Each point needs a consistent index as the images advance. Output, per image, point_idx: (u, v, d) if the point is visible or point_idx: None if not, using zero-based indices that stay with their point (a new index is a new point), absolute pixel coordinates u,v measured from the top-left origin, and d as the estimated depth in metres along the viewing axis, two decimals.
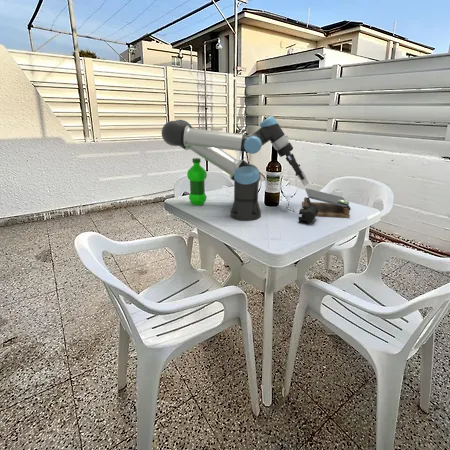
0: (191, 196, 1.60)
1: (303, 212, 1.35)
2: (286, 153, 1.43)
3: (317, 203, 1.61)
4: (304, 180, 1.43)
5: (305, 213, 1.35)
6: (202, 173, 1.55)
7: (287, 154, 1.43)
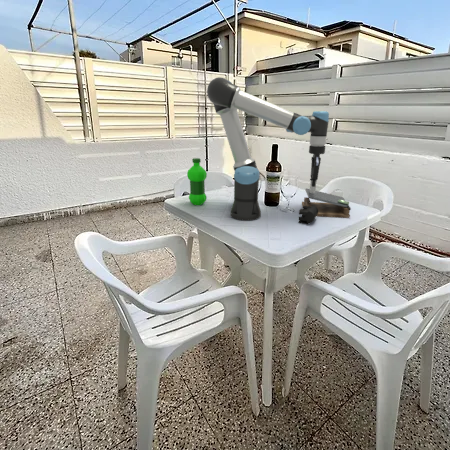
0: (191, 196, 1.60)
1: (303, 212, 1.35)
2: (317, 153, 1.41)
3: (317, 203, 1.61)
4: (313, 188, 1.50)
5: (305, 213, 1.35)
6: (202, 173, 1.55)
7: (317, 155, 1.41)
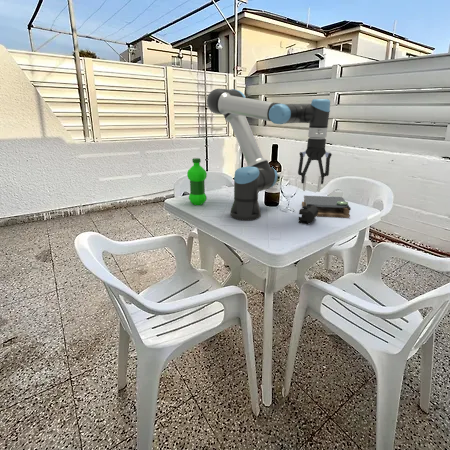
0: (191, 196, 1.60)
1: (303, 212, 1.35)
2: (307, 146, 1.28)
3: None
4: (303, 185, 1.34)
5: (305, 213, 1.35)
6: (202, 173, 1.55)
7: (307, 147, 1.29)
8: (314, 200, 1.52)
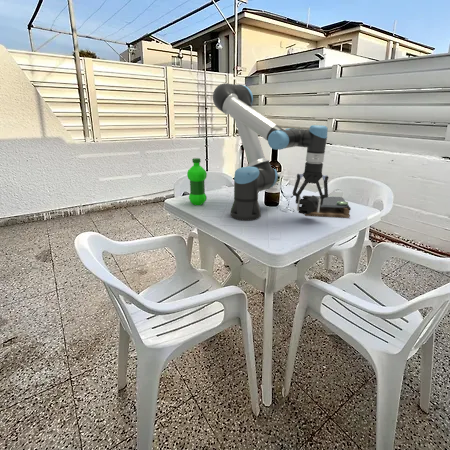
0: (191, 196, 1.60)
1: (303, 202, 1.34)
2: None
3: None
4: (297, 205, 1.38)
5: (305, 203, 1.33)
6: (202, 173, 1.55)
7: (304, 171, 1.32)
8: None
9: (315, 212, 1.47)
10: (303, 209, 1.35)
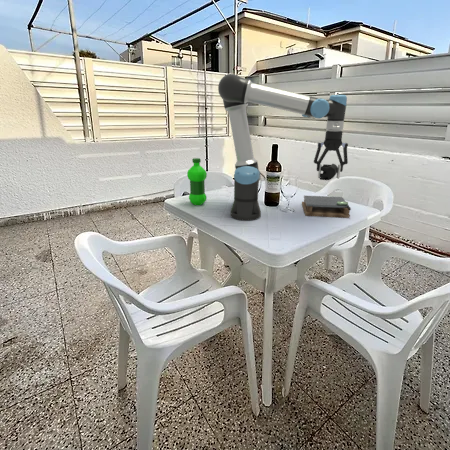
0: (191, 196, 1.60)
1: (324, 168, 1.43)
2: (325, 138, 1.41)
3: None
4: (318, 172, 1.47)
5: (326, 169, 1.42)
6: (202, 173, 1.55)
7: (325, 139, 1.42)
8: (314, 200, 1.52)
9: (315, 212, 1.47)
10: (324, 175, 1.44)
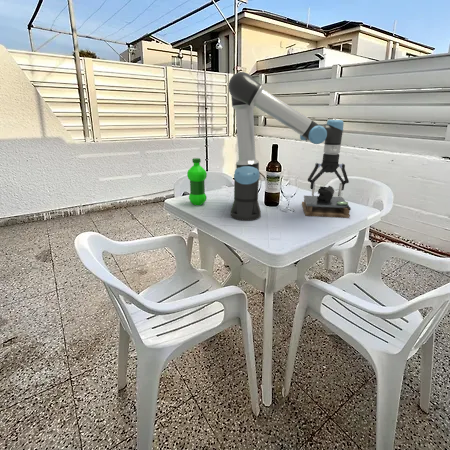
0: (191, 196, 1.60)
1: (322, 191, 1.47)
2: None
3: None
4: (312, 190, 1.51)
5: (324, 192, 1.47)
6: (202, 173, 1.55)
7: (322, 161, 1.46)
8: (314, 200, 1.52)
9: (315, 212, 1.47)
10: (321, 198, 1.48)
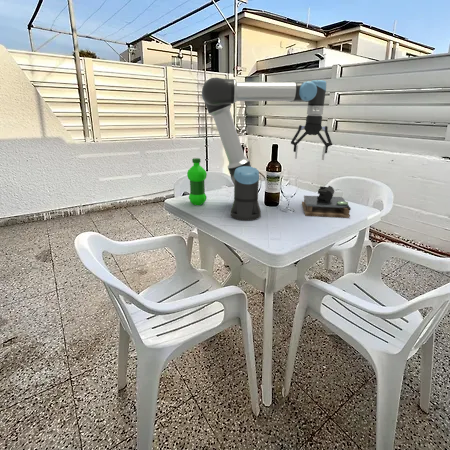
0: (191, 196, 1.60)
1: (322, 191, 1.47)
2: None
3: None
4: (295, 153, 1.53)
5: (324, 192, 1.47)
6: (202, 173, 1.55)
7: None
8: (314, 200, 1.52)
9: (315, 212, 1.47)
10: (321, 198, 1.48)
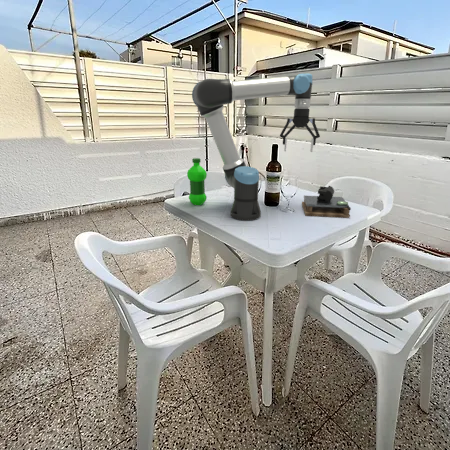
0: (191, 196, 1.60)
1: (322, 191, 1.47)
2: None
3: None
4: None
5: (323, 192, 1.47)
6: (202, 173, 1.55)
7: None
8: (314, 200, 1.52)
9: (315, 212, 1.47)
10: (321, 198, 1.48)
